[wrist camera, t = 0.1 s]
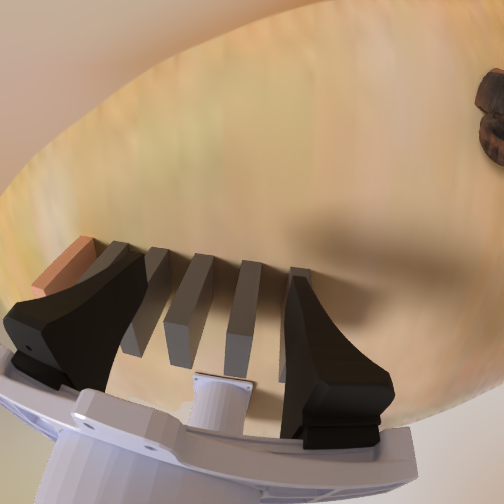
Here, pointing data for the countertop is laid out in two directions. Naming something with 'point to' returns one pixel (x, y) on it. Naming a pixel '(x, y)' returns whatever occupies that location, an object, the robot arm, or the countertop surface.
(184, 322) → the domino
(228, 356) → the domino
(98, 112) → the countertop surface
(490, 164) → the countertop surface
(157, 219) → the countertop surface
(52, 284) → the domino
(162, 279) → the domino
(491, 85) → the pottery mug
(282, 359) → the domino
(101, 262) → the domino
